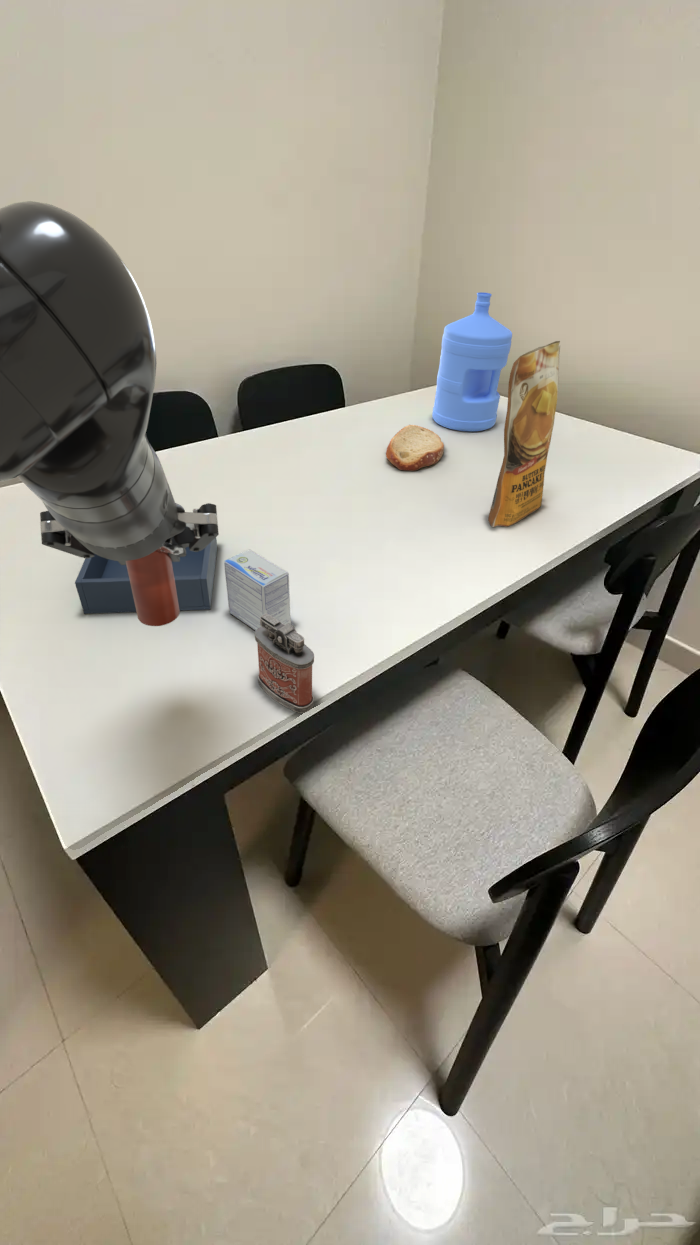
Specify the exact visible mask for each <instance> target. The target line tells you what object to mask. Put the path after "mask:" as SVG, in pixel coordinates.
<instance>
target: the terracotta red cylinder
mask: <svg viewBox="0 0 700 1245" xmlns="http://www.w3.org/2000/svg"><path fill="white" fill-rule="evenodd" d="M126 566H127V570H128V575H129V580H130V584H131V589H132V593H133V598H134V603H135V607H136V612H135V613H136V616H137V619H138V621H139V622H140V623H141V624H142V625H145V626H149V627H162V626H165V625H166V626H167V625H168V624H171V623H172V622H174V621H176V620H177V618H179V616H180V611H181V610H179V604H178V598H177V591H176V585H175V579H174V572H173V566H172V560H171V558H170V556H169V555H168V553H161V554H160V553H158V552H156V551H154V552H153V553H151V554H149V555H147V556H145V557H142V558H139V559H136V560H130V561H126Z"/></svg>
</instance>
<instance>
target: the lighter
mask: <svg viewBox="0 0 700 1245" xmlns="http://www.w3.org/2000/svg"><path fill="white" fill-rule="evenodd" d="M260 625H261V626H262V627H260V628H258V629H257V630H254V631H255V632H254V639H255V642H256V645H257V659H258V675H257V683H258V686H260V687H261V689H262V690H263V692H265V693H266V694H267V695H268V696H269V697H270V698H271V699H273V700H274V701H275V702H277V703H279V704H280V705H282V706H284V707H285V708H287V709H289V710H291V711H293V712H295V713H298V714H304V713H307V712H310V711H311V710H312V709H313V707H314V705H315V704H314V703H315V702H314V700H315V698H314V695H313V665H314V663H315V653H314V651H313V650H312V649H311V648H310V647H309V646H307V644H305V636H303V635H302V634H300V633H298V631H297V630H296V628H295V626H294V625H293V624H292V623H291V624H290V623H288V624H286V625H284V624H283V623H281V622H280V621H278V620H277V619H275V618H274V617H272V616H270V615H269V614H264V615H262V616H261V617H260Z"/></svg>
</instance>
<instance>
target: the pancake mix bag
mask: <svg viewBox="0 0 700 1245" xmlns="http://www.w3.org/2000/svg"><path fill="white" fill-rule="evenodd" d="M560 343H561V341H560V340H555V341H553V342H550V343H548V344H546V345H542V346H538V347H536V348H534V349H532V350H529V351H527V352H525V353H523V354H522V355H520V356H519V357H518V358H517V359H516V360H515V361H513V363H512V367H511V370H510V372H509V373H510V374H509V378H508V387H507V389H508V390H507V407H506V414H505V419H504V420H505V421H504V428H503V459H502V463H501V466H500V470H499V473H498V474H499V475H498V478H497V482H496V485H495V490H494V494H493V497H492V502H491V506H490V508H489V509H490V510H489V513H488V517H487V518H488V519H487V522H488V523H489V525H490V526H491V528H496V527H507V528H508V527H510V526H512V525H515V524H517V523H518V522H520V521H521V520H523V519H524V518H526V517H528V516H529V515H530V514H533V513H534V512H536V511H537V510H539V509H540V508H541V507H542V501H543V496H544V495H543V494H544V485H545V484H544V483H545V475H546V474H545V473H546V467H547V463H548V462H547V461H548V455H549V450H550V446H551V443H552V442H551V441H552V435H553V430H554V426H555V418H556V411H557V405H558V396H559V382H560V380H559V373H560V372H559V370H560V352H561V351H560V350H561V345H560Z"/></svg>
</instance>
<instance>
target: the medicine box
mask: <svg viewBox="0 0 700 1245" xmlns="http://www.w3.org/2000/svg"><path fill="white" fill-rule="evenodd" d="M223 566H224V575H225V576H224V577H225V584H226V585H225V586H226V593H227V602H228V611H229V614H231V615H233V616H234V617H235V618H237V619H238V620H239V621H241V622H242V623H244V624H245V625H247V626H248V627H250V628H251V629H252V630H254V631H256V630H257V629H258V628H260V627H262V626H261V625H260V617H261V616H262V615H264V614H269V615H270V616H272V617H274V618H275V619H277V620H278V621H280V622H281V623H283V624H284V625H286V624H288V623H290V624H291V625H292V619H291V596H290V574H289V572H288V571H287V570H285V569H283V568H282V567H280V566H278V565H277V564H275V563H274V562H272V561H270V560H268V559H267V558H265V557H263V556H262V555H260V554H259V553H257V552H255V551H254V550H252V549H246V550H244V551H241V552H239V553H238V554H235V555H233V556H231V557H228V558H227V559H225V560H224V561H223Z"/></svg>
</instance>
